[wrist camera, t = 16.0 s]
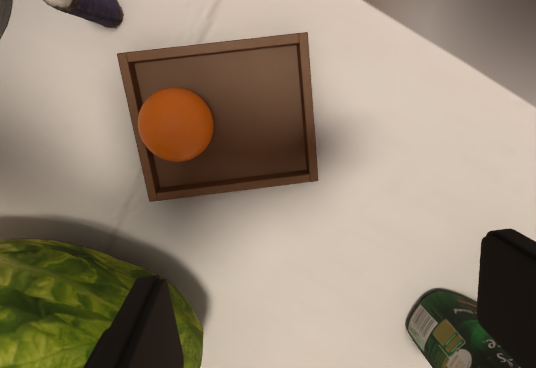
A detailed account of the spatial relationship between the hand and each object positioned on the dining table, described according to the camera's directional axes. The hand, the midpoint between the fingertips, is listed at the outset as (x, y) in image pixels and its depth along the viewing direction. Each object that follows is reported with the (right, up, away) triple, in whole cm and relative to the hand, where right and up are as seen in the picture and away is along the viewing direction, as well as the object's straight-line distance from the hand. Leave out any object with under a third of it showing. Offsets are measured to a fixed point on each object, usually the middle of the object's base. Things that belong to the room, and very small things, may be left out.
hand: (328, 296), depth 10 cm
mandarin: (-10, +8, +20) cm, 24 cm away
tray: (-6, +10, +24) cm, 27 cm away
